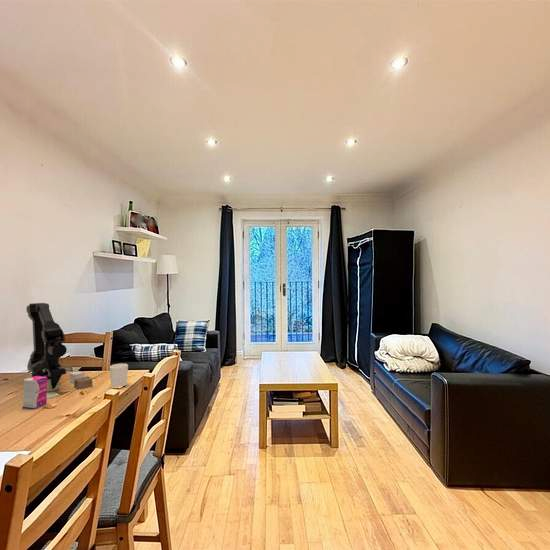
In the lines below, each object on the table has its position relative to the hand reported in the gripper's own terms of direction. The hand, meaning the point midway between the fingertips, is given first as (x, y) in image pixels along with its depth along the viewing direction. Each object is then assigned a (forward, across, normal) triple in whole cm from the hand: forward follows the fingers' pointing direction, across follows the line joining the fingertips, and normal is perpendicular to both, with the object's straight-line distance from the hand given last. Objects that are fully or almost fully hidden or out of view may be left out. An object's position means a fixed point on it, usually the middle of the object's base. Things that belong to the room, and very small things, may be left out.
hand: (51, 387), depth 154 cm
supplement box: (+1, +18, -11) cm, 21 cm away
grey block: (+1, -4, +12) cm, 13 cm away
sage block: (+1, 0, 0) cm, 1 cm away
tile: (+1, +9, -4) cm, 10 cm away
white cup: (+1, +20, +22) cm, 30 cm away
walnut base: (+1, +7, +11) cm, 13 cm away
